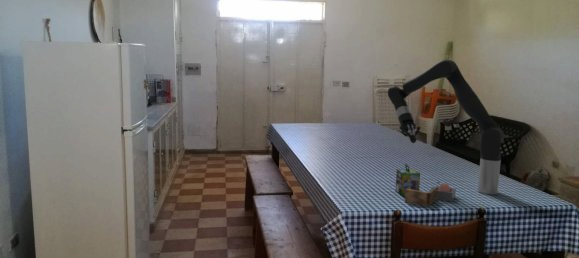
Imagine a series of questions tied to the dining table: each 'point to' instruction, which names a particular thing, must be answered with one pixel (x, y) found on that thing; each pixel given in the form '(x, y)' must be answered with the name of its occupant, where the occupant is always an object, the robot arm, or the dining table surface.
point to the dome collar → (445, 194)
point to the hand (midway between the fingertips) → (414, 142)
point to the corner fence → (420, 197)
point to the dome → (444, 187)
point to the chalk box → (407, 180)
